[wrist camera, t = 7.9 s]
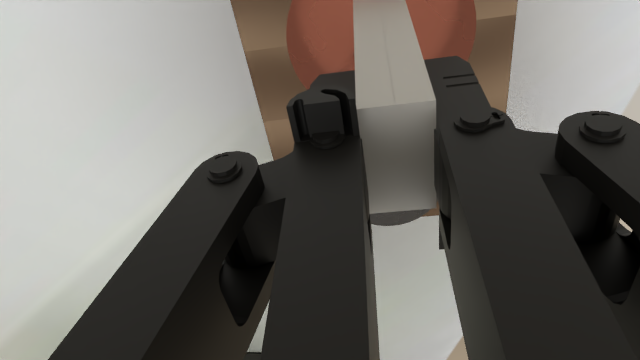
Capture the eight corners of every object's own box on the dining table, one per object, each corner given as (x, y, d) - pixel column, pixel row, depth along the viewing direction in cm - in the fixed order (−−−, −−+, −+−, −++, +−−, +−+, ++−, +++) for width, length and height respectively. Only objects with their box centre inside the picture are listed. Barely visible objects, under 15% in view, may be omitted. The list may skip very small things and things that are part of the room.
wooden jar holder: (470, 143, 37) (496, 210, 31) (300, 161, 39) (292, 227, 33) (488, -209, 24) (539, -217, 18) (228, -156, 26) (190, -147, 19)
